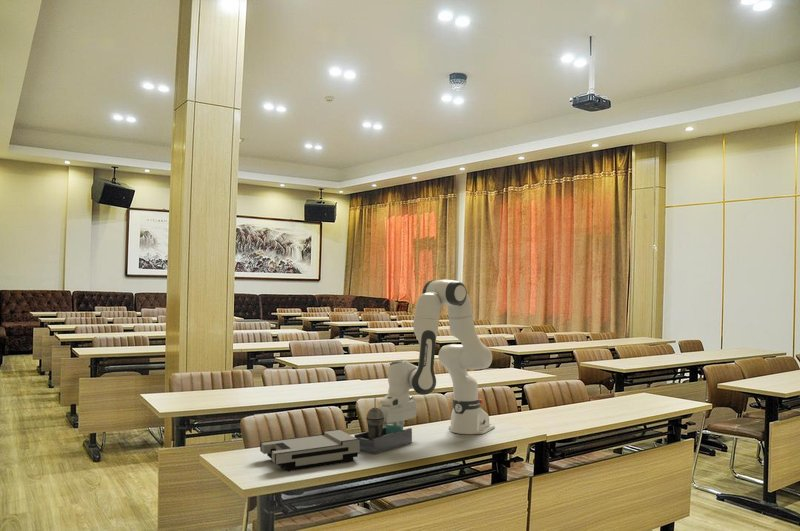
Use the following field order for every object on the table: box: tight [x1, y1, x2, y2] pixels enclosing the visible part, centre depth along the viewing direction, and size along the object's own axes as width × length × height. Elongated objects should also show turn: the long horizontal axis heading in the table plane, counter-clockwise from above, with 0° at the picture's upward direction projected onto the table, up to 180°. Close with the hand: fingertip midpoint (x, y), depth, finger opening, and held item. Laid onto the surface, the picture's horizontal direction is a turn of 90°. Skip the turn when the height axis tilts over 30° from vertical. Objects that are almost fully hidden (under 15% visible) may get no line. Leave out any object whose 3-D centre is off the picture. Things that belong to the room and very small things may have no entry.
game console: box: [259, 428, 361, 472], centre depth 226 cm, size 21×32×8 cm, turn 118°
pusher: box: [385, 423, 404, 435], centre depth 251 cm, size 2×8×6 cm, turn 49°
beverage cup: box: [365, 396, 384, 440], centre depth 241 cm, size 7×7×20 cm
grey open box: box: [353, 426, 413, 455], centre depth 246 cm, size 23×11×6 cm, turn 139°
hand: (399, 431), depth 254 cm, fingers closed
